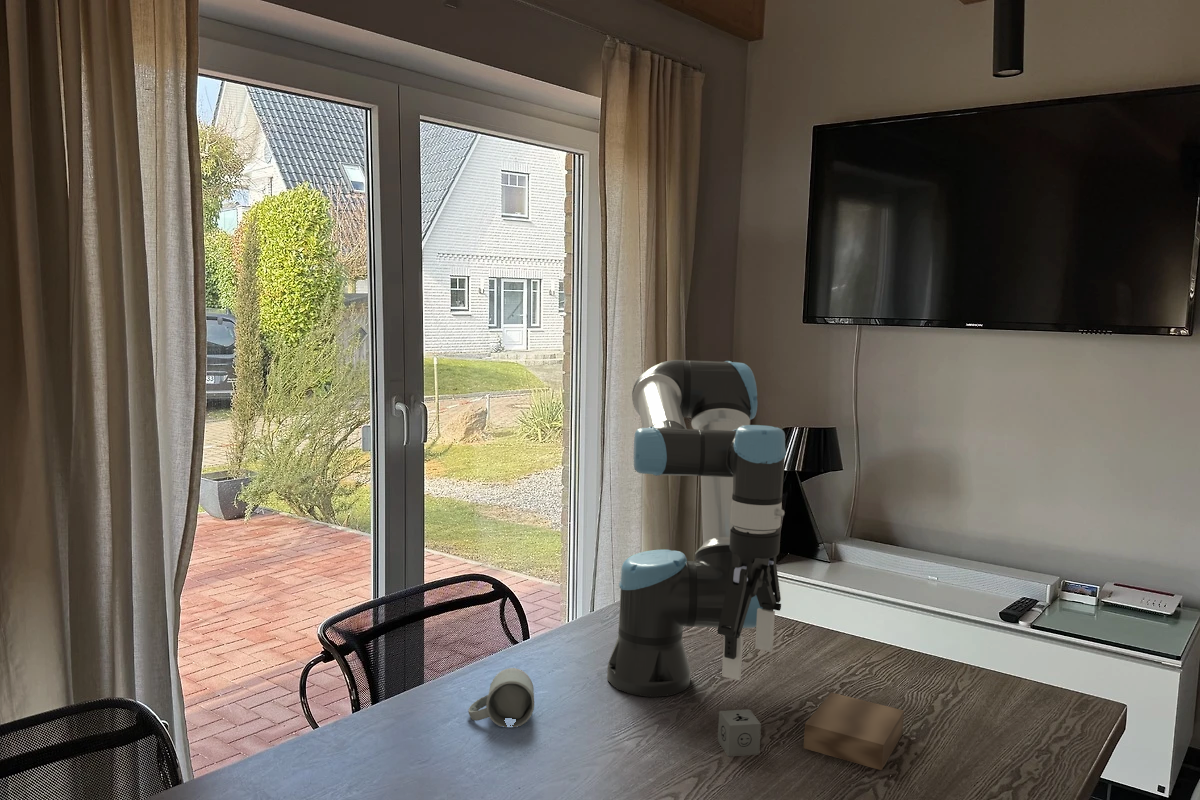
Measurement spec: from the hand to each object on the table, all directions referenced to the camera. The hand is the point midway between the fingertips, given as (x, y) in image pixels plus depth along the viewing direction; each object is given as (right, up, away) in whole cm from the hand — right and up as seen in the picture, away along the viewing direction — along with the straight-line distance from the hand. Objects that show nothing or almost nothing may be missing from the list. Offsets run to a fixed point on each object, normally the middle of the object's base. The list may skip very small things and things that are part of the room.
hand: (748, 663), depth 139 cm
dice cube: (-1, -14, +1) cm, 14 cm away
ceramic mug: (-39, -12, +9) cm, 41 cm away
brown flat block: (+18, -14, +5) cm, 23 cm away
